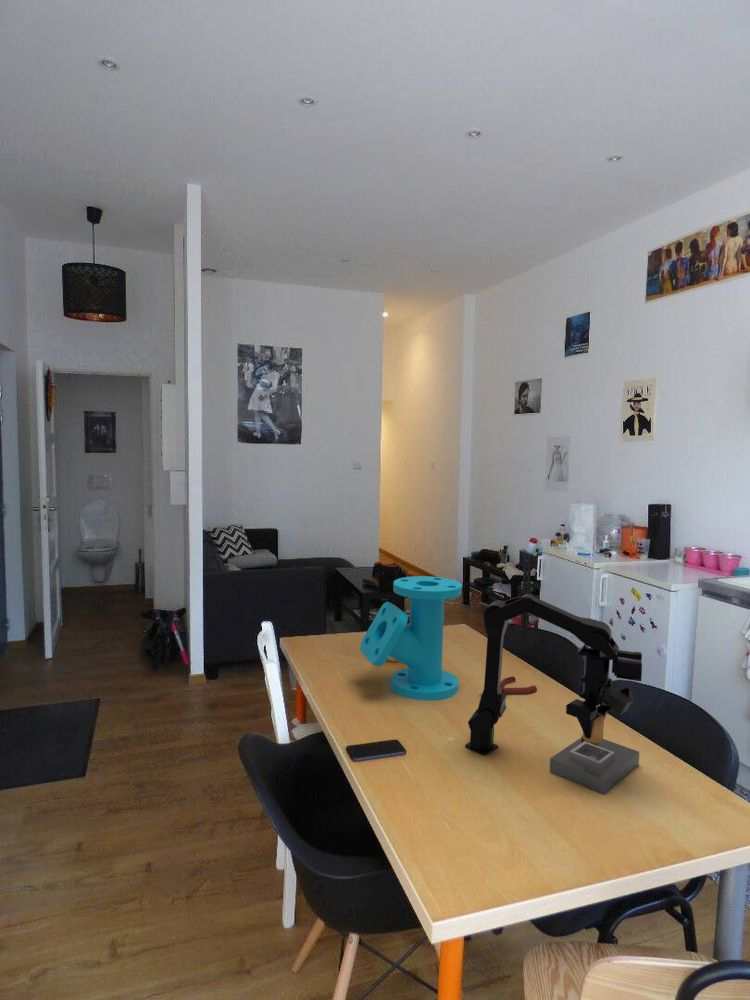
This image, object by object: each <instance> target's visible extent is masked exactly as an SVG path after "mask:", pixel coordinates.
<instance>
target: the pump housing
mask: <svg viewBox="0 0 750 1000" xmlns="http://www.w3.org/2000/svg"><path fill="white" fill-rule="evenodd" d="M597 715H600V717H598V718H597V719H595V720H594V725H593V730H592V734H591V738H590V739H588V738H586V737H585V735H584V732H583V731H582V735H583V736H582V735H581V737H582V738H583V739H584V740H585V741H587V742H590V743H601V742H603V739H604V730H605V729H604V726H605V719H604V716H603V715H602V714H600V713H599V712H597Z"/></svg>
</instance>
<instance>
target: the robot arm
mask: <svg viewBox="0 0 750 1000" xmlns="http://www.w3.org/2000/svg"><path fill="white" fill-rule="evenodd" d="M526 613H527V614H530V615H533V616H534V617H537V618H538V619H541V620H543V621H545V622H547V623H549V624H552V625H553V626H556V627H558V628H560V629H561V630H563V631H566V632H569V633H570V634H572V635H573V636H575V637H576V638H577V640H579V641H580V642H581V643H583V645H582V646H581V647H579V648H578V650H577V652H576V654H577V655H578V656H582V657H584V673H583V675H582V676H580V682H582V683H583V691H581V692H580V693H579V698H581V699H583V700H580V699H576V698H575V699H574V700H572V701H570V702H569V703H567V704H566V705H565V714H566V715H569V716H571V717H573V718H577V722H578V723H579V725H580V727H581V730H582V733H583V732H584V735H585V737H586V738H588V739H590V738H591V734H592V730H593V725H594V720H595V719H597V718H598V717H600V715H597V712H599V713H600V714H602V715H603V716H604V720H605V719H606V717H607V714H608V712H609V711H611V710H614V712H615V713H616V714H618V715H623V714H624V713H625V712H627V711H628V710H629V708H630V706H631V705H632V703H634V700H633V699H634V697H633V690H632V689H631V688H630V687H629V686H625V687H624V688H622V689H621V688H620V687H615V686H613V684H614V681H613V679H612V678H610V665H611V664H610V663H611V662H610V661H612V665H611V673H612V674H613V675H614V677H616V679H621V680H627V681H635V682H642V676H643V675H642V673H643V663H642V659H643V653H642V652H641V651H628V650H622V649H621V650H620V646H618V644H617V642H616V641H615V639H614V638H613V636H612V633H613V632H612V629H611V627H610V626H609V625H608V624H607V623H606V622H603V621H601V620H597V619H592V618H588V617H581V616H578V615H575V614H573V613H571V612H568V611H566V610H564V609H562V608H560V607H558V606H555V605H553V604H551V603H549V602H546V601H545V600H542V599H539V598H538V597H536V596H535V595H533V594H530V593H526V594H524V595H521V596H518V597H513V598H510V599H507V600H500V599H499V600H494V601H493V602H491V603H490V604H489V605H488V606H487V607H486V608H485V609H484V612H483V623H484V630H485V632H486V637H487V639H486V641H487V642H486V654H485V667H484V682H483V683H484V684H483V691H482V692H481V693H482V696H480V699H479V703H478V707H477V709H476V710H475V711H474V712H473V714H472V716H471V717H470V718H469V720H468V722H467V723H468V728H469V730H470V737H469V738H470V739H469V742H467V743H466V744H465V746H464V747H465V748H467V749H470V750H471V751H474V752H476V753H478V754H481V755H483V756H486V755H488V754H489V753H491V752H493V751H494V750H496V749H498V748H499V745H498V744H496V743H494V740H495V736H494V735H495V725H496V724H497V723H498V722H499V720H500V718H502V716H503V714H504V713H505V711H506V709H507V704H506V701H507V700H506V699H507V697H508V695H507V694H502V692H501V689H500V682H501V681H502V667H503V652H504V650H503V649H504V637H505V635H506V632H507V631H506V630H507V628H508V624H509V621H510V620H511V619H513V618H516V617H518V616H520V615H523V614H526Z"/></svg>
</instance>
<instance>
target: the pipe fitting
mask: <svg viewBox="0 0 750 1000" xmlns="http://www.w3.org/2000/svg"><path fill="white" fill-rule="evenodd" d="M392 592H394V593H395V594H396V595H398V596H402V597H405V598H409V616H408V614H407V613H405V612H404V611H403V610H402V609H401V608H400V607H398V606H396V605H395V604H394V603H391V602H389V601H385V602H384V603H383V604H382V605H381V607H380V608H379V610H378V611H377V613H376V616H375V617H374V618H373V621H372V622H371V624H370V625H369V627H368V629H367V631H366V633H365V635H364V636H363V638H362V640H361V642H360V646H359V649H360V650H359V651H360V652H361V653H362V655H363V656H364V657H365V658H366V660H368V661H369V663H370V664H372V665H374V666H375V667H377V668H380V667H382V666H384V665H385V664H386V662H387V660H388V659H389V657H390V658H392V659H394V660H396V661H397V662H399V663H401V664H403V665H405V666H407V668H403V669H399V670H397V671H395V672H394V673H392V675H391V677H390V688H391V690H392V691H393V692H394V693H396V694H397V695H399V696H401V697H405V698H408V699H410V700H418V701H441V700H445V699H449V698H451V697H454V696H455V695H457V693H458V692H459V679H458V677H457V676H456V675H454V674H453V673H450V672H449V671H446V670H443V651H444V650H443V647H444V646H443V644H444V619H445V616H444V615H445V600H450V599H454V598H458V597H460V596H461V595H462V592H463V584H462V583H461V582H459V581H457V580H455V579H450V578H446V577H439V576H427V575H426V576H425V575H421V576H420V575H419V576H418V575H417V576H406V577H400V578H397V579H395V580H394V581H393V591H392ZM408 620H409V625H408V626H407V623H408Z"/></svg>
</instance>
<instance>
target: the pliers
mask: <svg viewBox="0 0 750 1000" xmlns="http://www.w3.org/2000/svg"><path fill="white" fill-rule="evenodd" d="M515 682H516V677H515V676H508V677H505V678H503V679H501V682H500V689H501V692H502V694H507V696H518V695H519V696H524V695H531V694H534V693H537V691H538V688H537V686H536V685H535V684H533V685H530V686H527V687H526V686H525V687H505V686H506V685H508V684H513V683H515ZM482 693H483V692H481V693H480V694H478V696H479V697H481V696H482Z"/></svg>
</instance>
